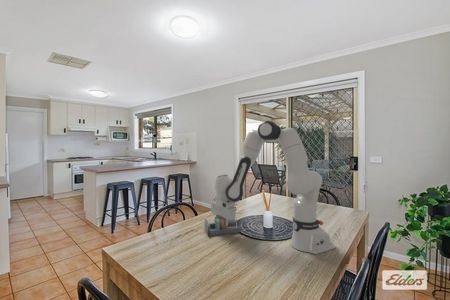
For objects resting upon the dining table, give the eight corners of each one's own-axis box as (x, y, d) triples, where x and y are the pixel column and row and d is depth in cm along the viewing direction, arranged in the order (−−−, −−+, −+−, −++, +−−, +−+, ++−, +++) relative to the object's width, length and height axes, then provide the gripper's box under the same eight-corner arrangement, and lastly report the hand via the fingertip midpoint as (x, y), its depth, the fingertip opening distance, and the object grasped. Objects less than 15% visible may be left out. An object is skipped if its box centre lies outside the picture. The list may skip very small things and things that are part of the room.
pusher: (216, 227, 138) (216, 216, 137) (219, 232, 130) (219, 221, 129) (214, 227, 137) (214, 216, 137) (217, 233, 129) (217, 221, 129)
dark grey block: (235, 225, 142) (235, 216, 142) (240, 232, 131) (240, 222, 131) (204, 228, 137) (204, 219, 137) (208, 236, 126) (207, 226, 126)
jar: (227, 227, 138) (227, 213, 138) (228, 231, 132) (228, 217, 131) (217, 227, 138) (217, 213, 137) (217, 232, 131) (217, 217, 131)
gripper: (208, 198, 140) (208, 220, 140) (229, 206, 124) (229, 229, 124) (216, 197, 144) (216, 217, 144) (237, 203, 128) (237, 227, 128)
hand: (222, 223), depth 134 cm, fingers closed on jar, 6 cm apart
